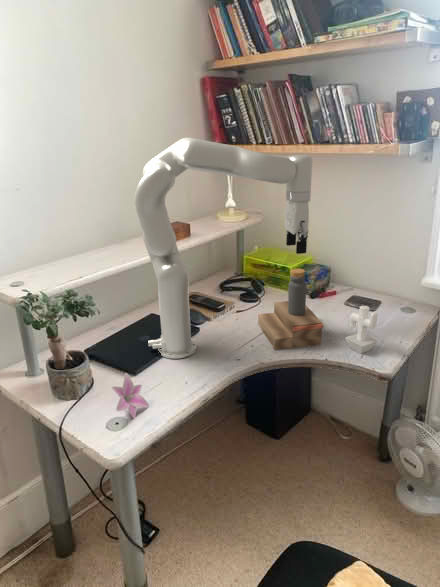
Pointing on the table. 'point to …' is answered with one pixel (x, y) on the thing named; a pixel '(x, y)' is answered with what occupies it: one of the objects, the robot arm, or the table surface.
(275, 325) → the step stand
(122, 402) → the lily
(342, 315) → the table surface
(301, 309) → the bottle
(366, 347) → the figurine
